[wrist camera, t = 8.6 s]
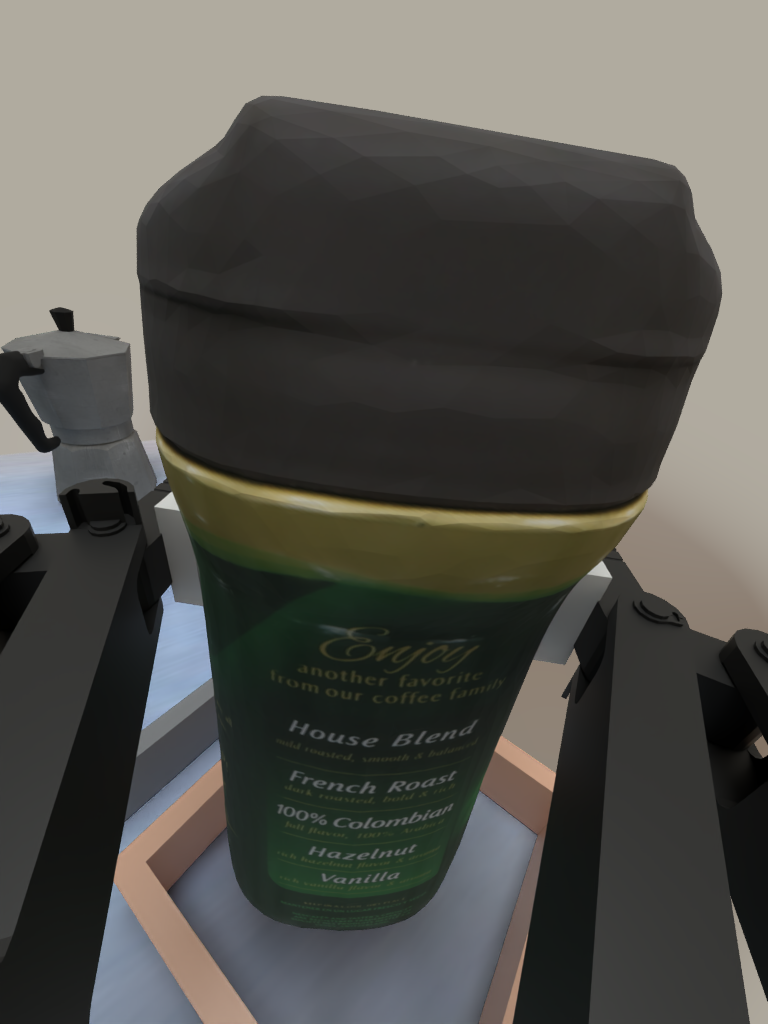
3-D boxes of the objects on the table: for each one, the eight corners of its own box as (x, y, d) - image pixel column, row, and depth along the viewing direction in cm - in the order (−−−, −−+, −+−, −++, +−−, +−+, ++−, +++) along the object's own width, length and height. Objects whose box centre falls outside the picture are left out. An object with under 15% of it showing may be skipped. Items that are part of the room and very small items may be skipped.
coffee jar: (470, 940, 12) (1153, 99, 2) (203, 940, 12) (-286, -195, 2) (431, 667, 20) (555, 223, 11) (273, 658, 20) (252, 178, 10)
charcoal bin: (-21, 667, 25) (-50, 623, 23) (196, 558, 36) (190, 522, 34) (94, 848, 19) (68, 810, 17) (317, 649, 30) (320, 611, 27)
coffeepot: (103, 460, 49) (57, 294, 39) (181, 469, 49) (155, 307, 40) (-1, 533, 36) (-107, 311, 26) (107, 544, 36) (41, 330, 27)
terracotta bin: (127, 901, 17) (105, 867, 15) (349, 672, 28) (353, 634, 26) (417, 1358, 11) (448, 1410, 9) (561, 831, 22) (590, 797, 20)
